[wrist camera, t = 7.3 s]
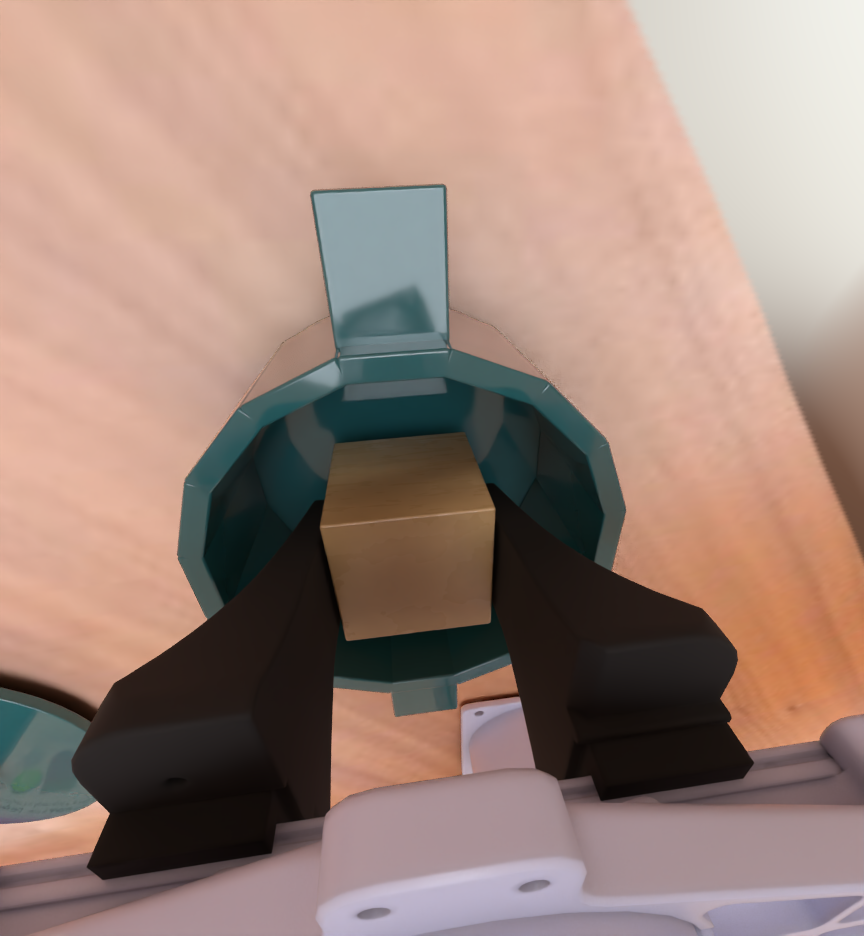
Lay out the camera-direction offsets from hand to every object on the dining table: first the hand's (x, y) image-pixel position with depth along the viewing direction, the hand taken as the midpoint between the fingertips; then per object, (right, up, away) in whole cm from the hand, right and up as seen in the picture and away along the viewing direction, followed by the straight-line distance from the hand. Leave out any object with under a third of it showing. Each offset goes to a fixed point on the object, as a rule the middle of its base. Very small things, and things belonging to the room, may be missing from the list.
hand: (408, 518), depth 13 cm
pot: (0, +2, +3) cm, 3 cm away
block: (0, +1, +1) cm, 1 cm away
